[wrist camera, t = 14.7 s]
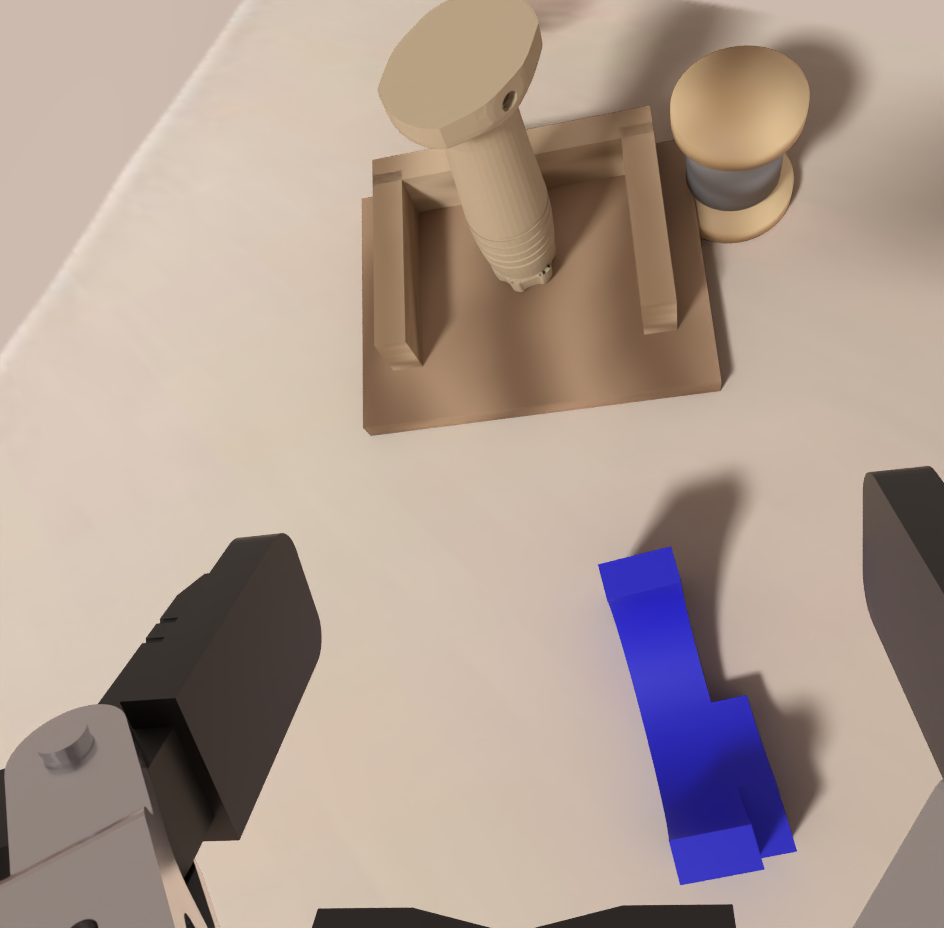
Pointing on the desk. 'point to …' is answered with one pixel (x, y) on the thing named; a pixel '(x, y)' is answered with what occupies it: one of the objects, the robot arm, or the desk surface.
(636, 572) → the cable clip
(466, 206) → the handle
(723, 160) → the bobbin
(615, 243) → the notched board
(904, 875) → the robot arm
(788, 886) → the desk surface
